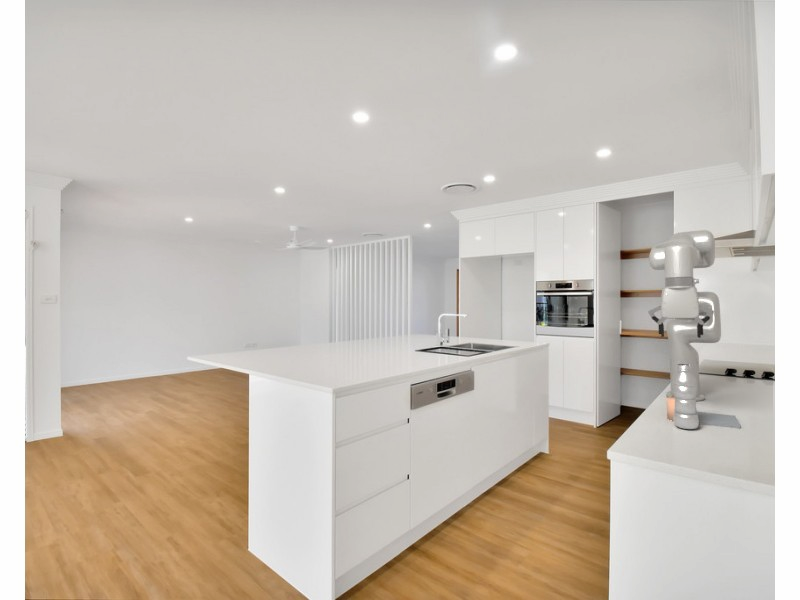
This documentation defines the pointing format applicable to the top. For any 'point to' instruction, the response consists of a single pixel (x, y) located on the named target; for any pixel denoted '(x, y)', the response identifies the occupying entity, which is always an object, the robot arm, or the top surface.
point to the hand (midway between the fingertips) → (680, 336)
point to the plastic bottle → (685, 398)
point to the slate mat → (718, 419)
